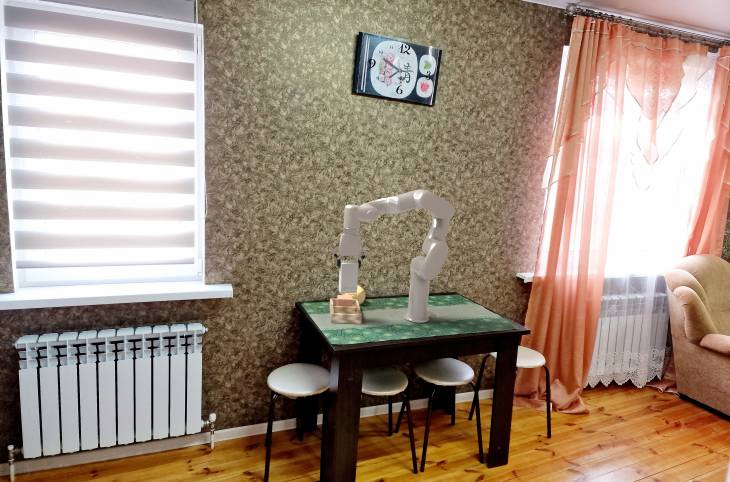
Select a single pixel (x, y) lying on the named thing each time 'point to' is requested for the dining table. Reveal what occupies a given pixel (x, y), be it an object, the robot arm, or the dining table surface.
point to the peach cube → (344, 300)
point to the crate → (345, 312)
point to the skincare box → (348, 277)
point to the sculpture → (358, 295)
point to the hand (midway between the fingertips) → (348, 268)
